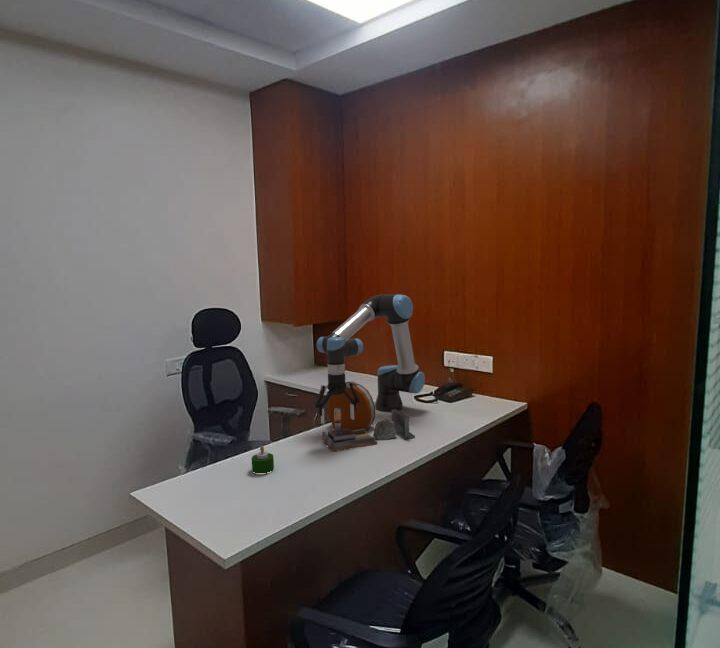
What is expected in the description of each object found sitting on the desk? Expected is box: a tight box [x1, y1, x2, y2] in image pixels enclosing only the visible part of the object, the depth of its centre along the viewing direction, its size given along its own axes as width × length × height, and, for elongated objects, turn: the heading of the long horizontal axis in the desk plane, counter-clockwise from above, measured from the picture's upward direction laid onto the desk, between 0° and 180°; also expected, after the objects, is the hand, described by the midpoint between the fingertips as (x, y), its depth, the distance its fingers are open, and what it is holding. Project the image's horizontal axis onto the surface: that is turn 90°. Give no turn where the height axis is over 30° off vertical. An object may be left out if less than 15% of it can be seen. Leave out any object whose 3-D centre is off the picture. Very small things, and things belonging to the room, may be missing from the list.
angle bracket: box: [391, 409, 416, 441], centre depth 224 cm, size 14×5×10 cm, turn 21°
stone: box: [372, 416, 397, 441], centre depth 221 cm, size 10×10×10 cm
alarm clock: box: [327, 381, 376, 431], centre depth 235 cm, size 22×10×23 cm, turn 65°
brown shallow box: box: [321, 429, 378, 452], centre depth 215 cm, size 14×21×4 cm, turn 111°
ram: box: [327, 408, 356, 443], centre depth 213 cm, size 8×10×15 cm
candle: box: [251, 445, 275, 473], centre depth 188 cm, size 8×8×10 cm
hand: (337, 420), depth 213 cm, fingers open, 13 cm apart
